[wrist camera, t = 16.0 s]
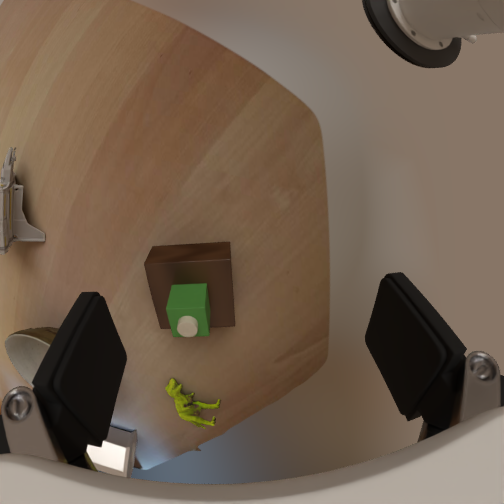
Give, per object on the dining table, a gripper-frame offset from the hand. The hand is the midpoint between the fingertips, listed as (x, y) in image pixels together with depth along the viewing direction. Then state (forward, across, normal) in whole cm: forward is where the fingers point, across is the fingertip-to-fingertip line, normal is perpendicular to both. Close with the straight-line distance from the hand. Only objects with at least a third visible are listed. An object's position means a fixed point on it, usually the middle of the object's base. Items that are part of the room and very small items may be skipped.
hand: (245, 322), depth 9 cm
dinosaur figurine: (+28, +12, +50) cm, 59 cm away
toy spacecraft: (+28, +34, -1) cm, 44 cm away
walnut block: (+28, +6, +16) cm, 33 cm away
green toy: (+23, +6, +16) cm, 29 cm away
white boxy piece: (+28, +45, +67) cm, 86 cm away
